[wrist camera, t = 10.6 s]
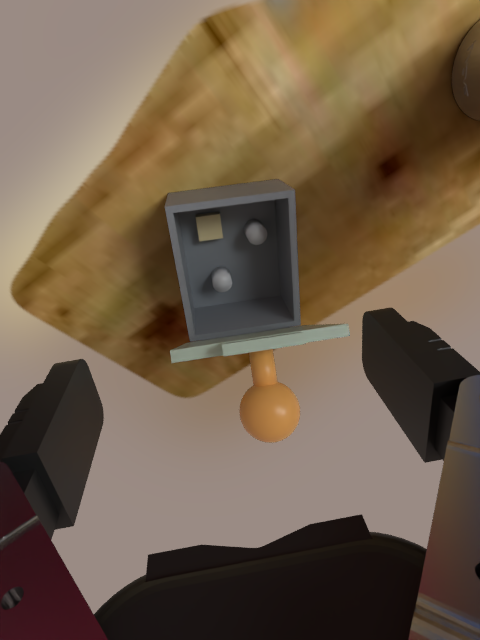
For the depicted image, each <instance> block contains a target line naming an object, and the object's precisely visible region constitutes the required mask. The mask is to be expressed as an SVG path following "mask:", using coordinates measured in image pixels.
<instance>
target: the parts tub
mask: <svg viewBox="0 0 480 640" xmlns="http://www.w3.org/2000/svg"><path fill="white" fill-rule="evenodd" d="M165 211H166V217H167V222H168V227H169V233H170V238H171V243H172V249H173V254H174V259H175V265H176V270H177V275H178V280H179V286H180V291H181V296H182V302H183V307H184V312H185V318H186V323H187V328H188V334H189V339H190V342H192V341H199V340H201V341H202V340H209V339H216V338H222V337H229V336H236V335H242V334H249V333H256V332H263V331H269V330H276V329H283V328H289V327H293V326H299V325H301V322H300V298H299V274H298V251H297V227H296V203H295V189H293V188H292V187H290V186H289V185H287V184H285V183H284V182H282V181H281V180H279V179H274V180H266V181H258V182H250V183H242V184H235V185H227V186H219V187H211V188H204V189H196V190H188V191H180V192H173V193H168V196H167V200H166V203H165Z"/></svg>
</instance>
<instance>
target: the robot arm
mask: <svg viewBox="0 0 480 640" xmlns="http://www.w3.org/2000/svg"><path fill="white" fill-rule="evenodd" d="M452 88H453V95H454V97H455V100H456V102H457V104H458V106H459V107H460V109H461V110H462V111H463V112H464V113H465V114H466V115H468V116H469V117H471V118H473V119H475V120H479V121H480V20H479V21H478V22H477V23H476V24H475V25H474V26H473V27H472V28H471V30H470V31H469V32H468V33H467V35H466V36H465V38H464V40H463V41H462V43H461V45H460V47H459V49H458V52H457V55H456V57H455V60H454V65H453V70H452ZM362 329H363V330H362V333H363V335H362V362H363V367H364V371H365V374H366V376H367V378H368V380H369V381H370V383H371V384H372V386H373V387H374V389H375V390H376V392H377V393H378V395H379V396H380V397H381V399H382V400H383V402H384V403H385V405H386V406H387V408H388V409H389V411H390V412H391V413H392V415H393V416H394V418H395V420H396V421H397V422H398V424H399V425H400V427H401V428H402V430H403V431H404V433H405V434H406V436H407V437H408V439H409V440H410V441H411V443H412V444H413V446H414V447H415V449H416V450H417V452H418V453H419V455H420V456H421V458H422V459H423V461H424V462H430V461H436V460H441V459H443V461H444V463H443V469H442V474H441V479H440V484H439V489H438V494H437V500H436V505H435V510H434V515H433V520H432V525H431V530H430V536H429V541H428V546H427V549H425V548H423V547H421V546H420V545H418V544H415V543H413V542H410V541H408V540H405V539H402V538H399V537H395V536H392V535H388V534H382V533H376V532H369V530H368V528H367V525H366V523H365V521H364V519H363V516H362V515H357V516H352V517H346V518H341V519H336V520H330V521H326V522H320V523H314V524H310V525H308V526H305V527H303V528H301V529H299V530H297V531H295V532H293V533H291V534H288V535H286V536H284V537H282V538H280V539H278V540H276V541H273V542H271V543H269V544H267V545H265V546H262V547H260V548H242V547H226V546H212V545H198V546H192V547H188V548H182V549H176V550H172V551H166V552H161V553H155V554H150V555H148V562H147V573H146V575H144V576H142V577H140V578H138V579H137V580H135V581H133V582H132V583H130V584H128V585H127V586H125V587H124V588H123V589H121V590H120V591H119V592H117V593H116V594H115V595H113V596H112V597H111V598H110V599H109V600H108V601H107V602H106V603H104V604H103V605H102V606H101V607H100V608H99V610H98V611H97V612H96V613H95V614H93V613H92V611H91V609H90V607H89V606H88V604H87V602H86V600H85V599H84V597H83V595H82V593H81V592H80V590H79V588H78V587H77V585H76V583H75V581H74V579H73V578H72V576H71V574H70V573H69V571H68V569H67V567H66V565H65V564H64V562H63V560H62V559H61V557H60V555H59V553H58V552H57V550H56V548H55V546H54V544H53V543H52V541H51V539H52V536H53V532H54V530H55V529H60V528H66V527H70V526H74V523H75V520H76V516H77V513H78V509H79V506H80V502H81V499H82V495H83V491H84V488H85V484H86V481H87V478H88V474H89V471H90V467H91V464H92V460H93V457H94V453H95V450H96V446H97V442H98V439H99V436H100V432H101V429H102V425H103V407H102V403H101V400H100V397H99V394H98V392H97V389H96V386H95V384H94V381H93V378H92V375H91V373H90V370H89V367H88V365H87V363H86V361H85V360H83V359H79V360H73V361H67V362H62V363H56V364H54V365H53V366H52V368H51V370H50V372H49V374H48V375H47V377H46V379H45V381H44V383H42V384H37V385H36V386H35V387H34V388H33V389H32V390H31V391H29V392H28V393H27V394H26V395H25V396H24V397H23V398H22V400H21V401H20V403H19V405H18V406H17V408H16V409H15V413H14V414H13V415H12V416H11V418H10V419H9V421H8V425H6V426H5V428H4V429H3V431H2V433H1V434H0V640H480V372H479V371H478V370H477V369H476V368H475V367H473V366H472V365H471V364H470V363H469V362H468V361H466V360H465V359H464V358H463V357H462V356H461V355H460V354H459V353H458V352H456V351H455V350H454V349H451V347H450V345H448V344H447V343H446V342H445V341H444V340H441V338H440V337H439V336H438V335H437V334H436V333H435V332H433V331H432V330H431V329H430V328H428V327H426V326H424V325H421V324H419V323H417V322H414V321H410V322H407V321H406V320H405V319H404V318H403V317H402V316H401V315H400V314H399V313H398V312H397V311H396V310H395V309H393V308H385V309H380V310H373V311H368V312H365V313H364V315H363V326H362Z"/></svg>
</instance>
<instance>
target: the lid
mask: <svg viewBox="0 0 480 640" xmlns="http://www.w3.org/2000/svg"><path fill="white" fill-rule="evenodd" d="M346 336H350V333H349V327H348V324H326V325H303V326H296V327H289V328H283V329H276V330H269V331H263V332H256V333H249V334H242V335H236V336H229V337H222V338H216V339H209V340H202V341H196V342H189V343H185V344H183V345H181V346H179V347H177V348H174V349H172V350H170V355H171V361H172V363H175V362H182V361H189V360H196V359H202V358H209V357H215V356H222V355H223V356H229V355H236V354H243V353H249V357H250V364H251V370H252V377H253V384H254V385H253V386H252V387H251V388H250V389H248V390H247V392H246V393H245V395H244V396H243V398H242V400H241V404H240V418H241V422H242V424H243V426H244V428H245V429H246V431H247V432H248V433H249V434H250V435H251V436H252V437H254V438H255V439H257V440H260V441H263V442H269V443H272V442H278V441H281V440H283V439H285V438H287V437H288V436H289V435H291V434H292V432H293V431H294V430H295V428H296V426H297V425H298V422H299V418H300V406H299V403H298V399H297V398H296V396H295V394H294V393H293V392H292V391H291V389H289V388H288V387H287V386H286V385H284V384H282V383H279V382H277V375H276V369H275V362H274V355H273V349H275V348H282V347H288V346H295V345H302V344H306V343H307V342H314V341H320V340H327V339H333V338H340V337H346Z"/></svg>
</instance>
